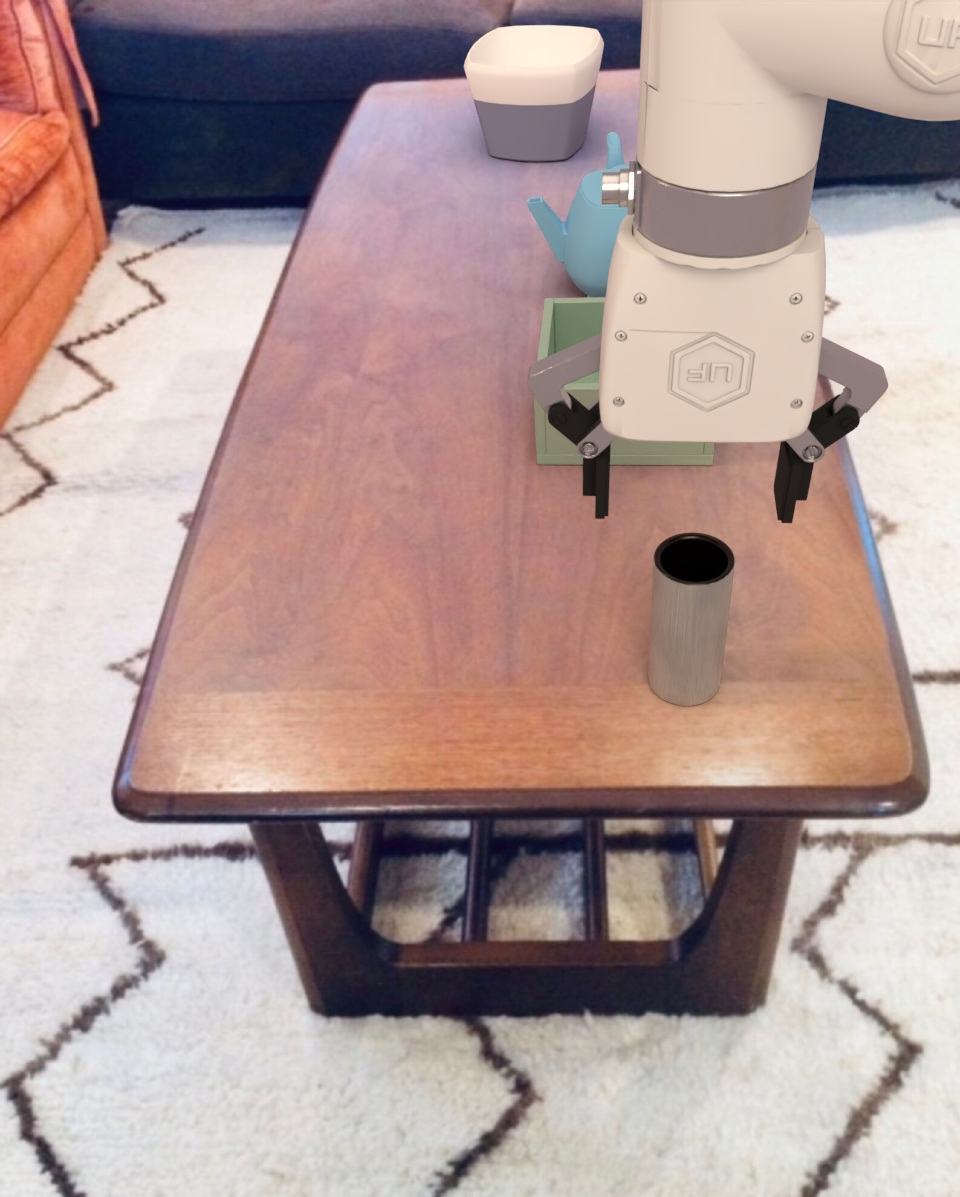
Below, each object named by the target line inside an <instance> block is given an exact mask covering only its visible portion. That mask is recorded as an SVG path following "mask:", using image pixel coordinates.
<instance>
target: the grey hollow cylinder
mask: <svg viewBox="0 0 960 1197" xmlns="http://www.w3.org/2000/svg"><path fill="white" fill-rule="evenodd" d="M652 559H653V560H652V579H651V580H652V581H651V584H652V585H651V599H650V600H651V604H650V622H649V643H648V644H649V645H648V663H647V664H648V667H647V679H648V684H649V687H650V688H651V690H652V691H653V692H654V694H655V695H656V696H657V697H658V698H660V699H662V700H663V701H665V702H668V703H669V704H673V705H676V706H683V707H684V706H685V707H687V706H688V707H689V706H690V707H691V706H696V705H700V704H703V703H706V702H708V701H710V700H711V699H712V698H714V696H715V695H716V694H717V693H718V691H719V690H720V687H721V684H722V679H723V678H722V677H723V670H724V669H723V668H724V660H725V652H726V645H727V644H726V643H727V636H728V635H727V634H728V627H729V620H730V619H729V617H730V611H731V610H730V608H731V600H732V593H733V592H732V591H733V584H734V575H735V567H736V557H735V554H734V552H733V550H732V548H731V547H729V545H728V544H727V543H725V541H723V540H721V539H720V538H719V537H716V536H713V535H712V534H707V533H702V532H681V533H678V534H674V535H671V536H669V537H667V538H666V539H664V540H662V542H661V543H659V544H658V545H657V547H656V548H655V550H654V553H653V557H652Z"/></svg>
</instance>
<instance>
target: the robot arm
mask: <svg viewBox="0 0 960 1197" xmlns="http://www.w3.org/2000/svg"><path fill="white" fill-rule="evenodd" d="M641 13H642V14H641V34H640V36H641V37H640V56H639V57H640V58H639V82H638V84H639V85H638V105H637V106H638V107H637V108H638V109H637V129H636V130H637V132H636V133H637V134H636V153H635V154H636V155H635V156H636V158H635V159H636V160H629V162H628V164H629V169H620V172H603V173H602V204H619V207H628V214H627V215H626V216H625V217H624V219H623V220H622V222H621V224H620V227H619V231H618V234H617V238H616V242H615V245H614V249H613V253H612V258H611V263H610V267H609V274H608V282H607V291H606V297H605V303H604V314H603V324H602V333H599V334H597V335H595V336H593V337H590V338H588V339H586V340H584V341H582V342H579V343H577V344H575V345H573V346H570V347H568V348H566V349H564V350H561V351H559V352H557V353H555V354H552V355H550V356H548V357H546V358H543V359H541V360H539V361H537V360H536V361H534V362H533V363H532V364H530V366H529V368H528V375H527V383H526V384H527V387H528V390H530V392H531V393H532V396H533V398H534V397H535V398H536V400H537V401H538V403H539V405H540V406H541V408H542V409H544V411H545V412H546V414H547V415H548V421H549V423H550V424H551V425H552V426H553V427H554V428H555V429H557V430H558V431H559V432H560V433H561V434H563V435H564V436H565V437H566V438H567V439H569V440H570V441H571V442H572V443H574V444H575V445H576V446H577V452H578V454H579V455H580V456H581V457H583V465H582V497H594V498H595V499H594V500H595V502H594V503H595V504H594V506H595V507H594V519H595V520H605V517H609V509H610V508H609V506H610V480H611V479H610V478H611V476H610V475H611V465H610V448H611V443H612V442H613V441H614V440H615V439H616V438H617V437H618V438H621V439H626V440H632V441H648V442H692V443H715V444H775V443H779V444H780V445H779V450H778V456H777V463H776V468H775V474H774V480H773V496H774V504H775V510H776V516H777V517H776V518H777V521H780V522H781V524H793V521H794V516H795V509H796V504H797V501H801V502H802V501H808V497H809V493H810V492H809V491H810V488H811V487H810V486H811V482H812V477H813V476H812V474H813V472H814V471H813V470H814V466H815V465H814V464H815V463H817V462H819V461H820V460H822V459H823V458H824V456H825V453H826V449H827V448H829V447H830V446H831V445H834V444H835V443H836V442H838V441H839V440H841V439H842V438H844V437H846V436H847V435H848V434H850V433H851V432H853V431H854V430H855V429H857V428H858V426H859V425H860V422H861V418H862V417H863V416H864V414H867V413H868V412H869V411H870V410H871V409H872V408H873V407H874V405H875V404H876V403H877V402H878V401H879V399H881V397H882V396H883V395H884V394H885V393H886V391H887V390H888V388H889V381H888V378H887V374H886V370H885V369H884V367H883V365H881V364H879V363H876V362H875V361H873V360H871V359H869V358H867V357H864V356H862V355H860V354H858V353H856V352H854V351H852V350H850V349H849V348H847V347H844V346H842V345H841V344H838V343H836V342H834V341H832V340H829V339H828V338H825V337H823V331H824V330H823V329H824V319H825V307H826V306H825V304H826V289H827V288H826V287H827V258H826V242H825V234H824V231H823V230H822V228H821V226H820V224H819V222H818V221H817V220H816V218H815V217H814V216H813V215H811V213H810V212H811V205H812V197H813V192H814V191H813V190H814V184H815V179H816V173H817V172H816V171H817V166H818V160H819V157H820V156H819V155H820V149H821V142H822V137H823V130H824V124H825V118H826V112H827V105H828V100H832V101H836V102H840V103H844V104H849V105H852V106H855V107H860V108H863V109H866V110H870V111H874V112H878V113H882V114H886V115H888V116H889V115H890V116H894V117H899V118H903V119H909V120H916V121H917V120H919V121H926V122H946V121H947V122H951V121H959V120H960V0H642V12H641ZM596 371H599V396H598V397H597V398H596V399H595V400H594V401H593V402H592V403H591V404H590V405H589V406H588V407H587V408H586V407H585V406H584V405H582V404H581V403H580V402H579V401H578V400H577V399H575V398H574V397H573V396H572V395H571V394H570V393H568V392H566V390H565V389H564V388H565V387H564V385H566V384H569V383H571V382H573V381H576V380H578V379H580V378H582V377H585V376H587V375H589V374H592V373H594V372H596ZM819 375H820V376H821V377H824V378H826V379H829V380H830V381H833V382H834V383H837V384H838V385H841V386H843V387H844V388H842V392H841V393H839V394H837V395H835V396H833V397H832V398H831V399H829V400H828V401H827V402H825V403H823V404H822V405H821V406H819V407H818V408H816V409H815V410H814V406H815V400H816V391H817V386H818V385H817V383H818V376H819Z"/></svg>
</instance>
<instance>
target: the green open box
mask: <svg viewBox="0 0 960 1197" xmlns="http://www.w3.org/2000/svg"><path fill="white" fill-rule="evenodd" d="M604 303H605V297H590V298H586V297H546V298H544V300H543V309H542V316H541V317H542V318H541V324H540V332H539V340H538V348H537V356H536V362H537V361H539V360H541V359H543V358H546V357H548V356H550V355H552V354H555V353H557V352H559V351H561V350H564V349H566V348H568V347H570V346H573V345H575V344H577V343H579V342H582V341H584V340H586V339H588V338H590V337H593V336H595V335H597V334H599V333H602V324H603V314H604ZM564 387H565V388H564V389H565V390H566V392H568V393H570V394H571V395H572V396H573V397H574V398H575V399H577V400H578V401H579V402H580V403H581V404H582V405H584V406H585V407H586V408H587V407H588V406H589V405H590V404H591V403H592V402H593V401H594V400H595V399H596V398H597V397H598V396H599V371H596V372H594V373H592V374H589V375H587V376H585V377H582V378H580V379H578V380H576V381H573V382H571V383H569V384H566V385H564ZM533 409H534V410H533V411H534V412H533V414H534V416H533V417H534V435H535V436H534V438H535V453H536V454H535V456H536V457H535V459H536V465H539V466H541V465H545V466H547V465H548V466H549V465H550V466H551V465H553V466H554V465H555V466H556V465H557V466H562V465H563V466H565V465H566V466H583V457H581V456H580V455H579V454H578V452H577V446H576V445H575V444H574V443H572V442H571V441H570V440H569V439H567V438H566V437H565V436H564V435H563V434H561V433H560V432H559V431H558V430H557V429H555V428H554V427H553V426H552V425H551V424H550V423H549V421H548V415H547V414H546V412H545V411H544V409H542V408H541V406H540V405H539V403H538V401H537V400H536V398H535V397H534V396H533ZM715 446H716V443H692V442H648V441H632V440H626V439H621V438H618V437H617V438H616V439H615V440H614V441H613V442H612V443H611V448H610V466H713V465H714V458H715V457H714V456H715Z"/></svg>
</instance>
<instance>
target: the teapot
mask: <svg viewBox="0 0 960 1197" xmlns="http://www.w3.org/2000/svg"><path fill="white" fill-rule="evenodd" d="M606 148H607V149H606V150H607V152H606V163H605V168H604V169H597V170H593V171H590V172H588V173H587V174H586V175H584V177H583V178H582V180H581V182H580V184H579V186H578V188H577V191H576V192H575V195H574V196H573V199H572V202H571V204H570V207H569V210H568V213H567V216H566V218H565V221H562V220H561V218H560V217H559V216H558V215H557V213H556V212H555V211H554V210H553V209H552V208H551V206H550V205H549V204H548V203H547V202H546V201H545V200H544V197H543V195H542V196H535V197H530V198H527V199H526V200H527V201H526V204H527V208H528V210H529V211H530V213H531V215H532V217H533V219H534V220H535V222H536V224H537V226H538V228H539V229H540V231H541V233H542V235H543V236H544V239H545V240H546V242H547V243H548V246H549V247H550V249H551V251H552V252H553V255H554V256H555V258H556V260H557V262H560V263H561V262H562V266H563V268H564V270H565V272H566V273H567V275H568V276H569V278H570V280H571V281H572V282H573V284H574V285H575V286H576V287H577V289H579V291H581V292H582V293H583V294H585V295H586V297H585V298H590V297H606V291H607V282H608V274H609V267H610V263H611V258H612V253H613V249H614V245H615V242H616V238H617V234H618V231H619V227H620V224H621V222H622V220H623V219H624V217H625V216H626V215H627V214H628V207H619V204H602V173H603V172H620V169H629V163H625V160H624V154H623V146H622V141H621V138H620V135H619V134H618V133H617V132H616V131H610V132H608V133H607V135H606Z"/></svg>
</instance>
